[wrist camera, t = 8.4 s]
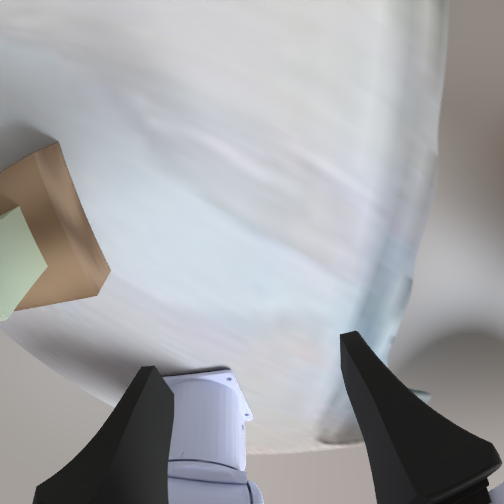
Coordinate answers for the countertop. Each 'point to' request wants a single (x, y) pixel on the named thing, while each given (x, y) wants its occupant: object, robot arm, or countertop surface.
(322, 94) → the countertop surface
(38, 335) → the countertop surface
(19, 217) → the sage cube
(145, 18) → the countertop surface
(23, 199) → the walnut base
